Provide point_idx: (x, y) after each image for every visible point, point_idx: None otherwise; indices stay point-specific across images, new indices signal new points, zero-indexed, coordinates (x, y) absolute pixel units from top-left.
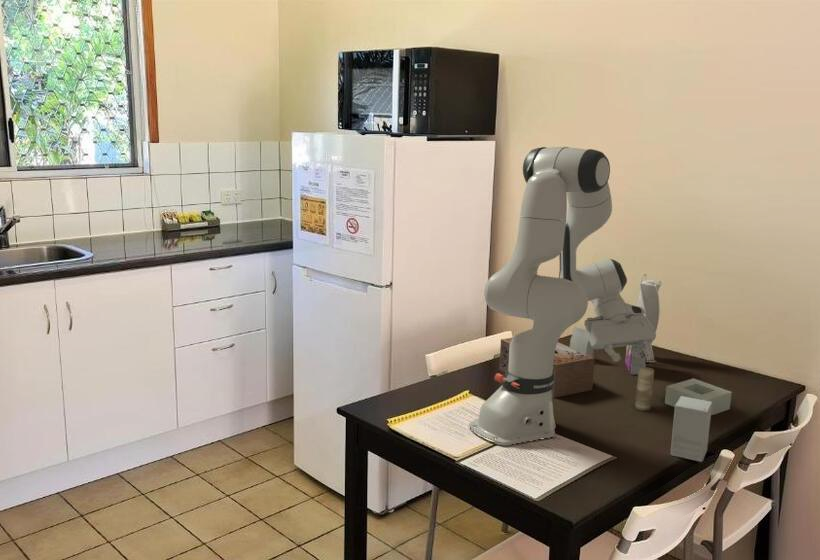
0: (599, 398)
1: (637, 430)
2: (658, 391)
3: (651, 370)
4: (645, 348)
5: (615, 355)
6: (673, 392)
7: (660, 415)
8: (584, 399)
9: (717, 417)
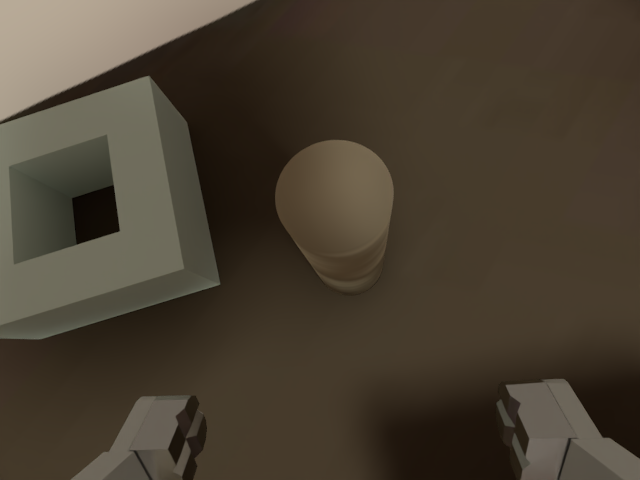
0: None
1: (501, 73)
2: None
3: (308, 167)
4: (112, 469)
5: (585, 410)
6: (185, 229)
7: None
8: None
9: None
